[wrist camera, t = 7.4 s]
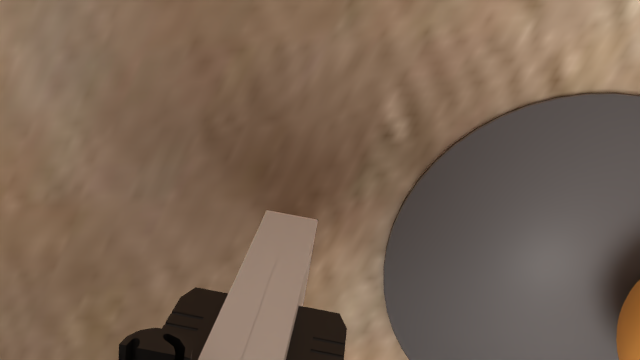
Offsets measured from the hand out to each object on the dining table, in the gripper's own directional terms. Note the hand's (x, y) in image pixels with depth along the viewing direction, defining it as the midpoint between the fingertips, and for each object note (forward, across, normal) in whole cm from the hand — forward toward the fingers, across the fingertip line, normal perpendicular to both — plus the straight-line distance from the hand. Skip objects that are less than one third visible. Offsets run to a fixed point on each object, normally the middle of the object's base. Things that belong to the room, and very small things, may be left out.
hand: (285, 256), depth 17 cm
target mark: (+2, +9, 0) cm, 9 cm away
